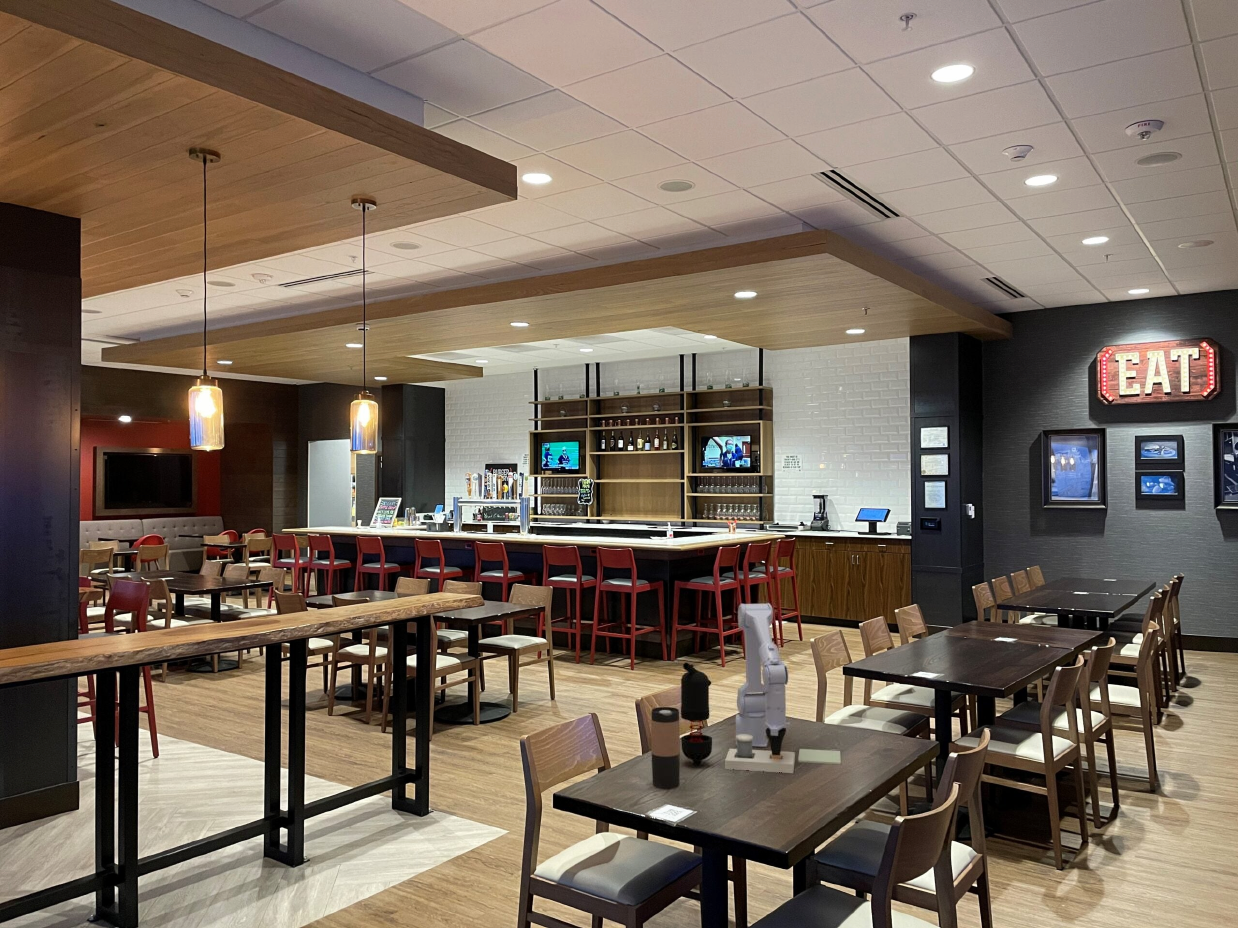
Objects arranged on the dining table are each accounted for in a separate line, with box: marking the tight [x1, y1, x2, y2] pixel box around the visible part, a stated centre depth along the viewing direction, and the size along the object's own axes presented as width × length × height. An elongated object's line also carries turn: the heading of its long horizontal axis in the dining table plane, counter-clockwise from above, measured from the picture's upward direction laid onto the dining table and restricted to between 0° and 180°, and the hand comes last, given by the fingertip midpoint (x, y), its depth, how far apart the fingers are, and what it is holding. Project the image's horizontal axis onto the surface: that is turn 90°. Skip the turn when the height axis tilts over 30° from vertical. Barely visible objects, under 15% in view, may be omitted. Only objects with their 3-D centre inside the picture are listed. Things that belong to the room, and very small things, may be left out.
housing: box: [724, 748, 796, 774], centre depth 260 cm, size 19×12×2 cm, turn 77°
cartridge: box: [735, 734, 753, 759], centre depth 261 cm, size 5×5×8 cm
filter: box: [680, 662, 713, 766], centre depth 263 cm, size 14×9×30 cm
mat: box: [797, 748, 842, 766], centre depth 267 cm, size 12×12×1 cm
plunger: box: [771, 754, 781, 759], centre depth 259 cm, size 3×3×2 cm
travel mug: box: [650, 706, 681, 790], centre depth 244 cm, size 8×8×20 cm
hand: (776, 754), depth 259 cm, fingers closed, pressing on plunger
